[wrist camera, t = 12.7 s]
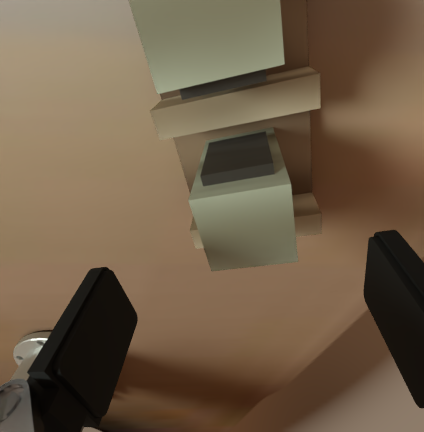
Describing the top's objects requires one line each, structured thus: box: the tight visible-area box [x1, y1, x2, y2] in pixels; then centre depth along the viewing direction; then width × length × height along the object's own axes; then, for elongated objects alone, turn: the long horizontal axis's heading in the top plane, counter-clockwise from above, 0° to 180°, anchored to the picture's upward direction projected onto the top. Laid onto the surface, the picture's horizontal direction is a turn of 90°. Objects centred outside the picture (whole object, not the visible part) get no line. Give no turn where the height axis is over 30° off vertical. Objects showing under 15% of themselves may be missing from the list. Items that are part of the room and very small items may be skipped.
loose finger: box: [188, 127, 298, 271], centre depth 15 cm, size 4×4×7 cm
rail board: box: [129, 0, 322, 249], centre depth 13 cm, size 16×8×8 cm, turn 13°
